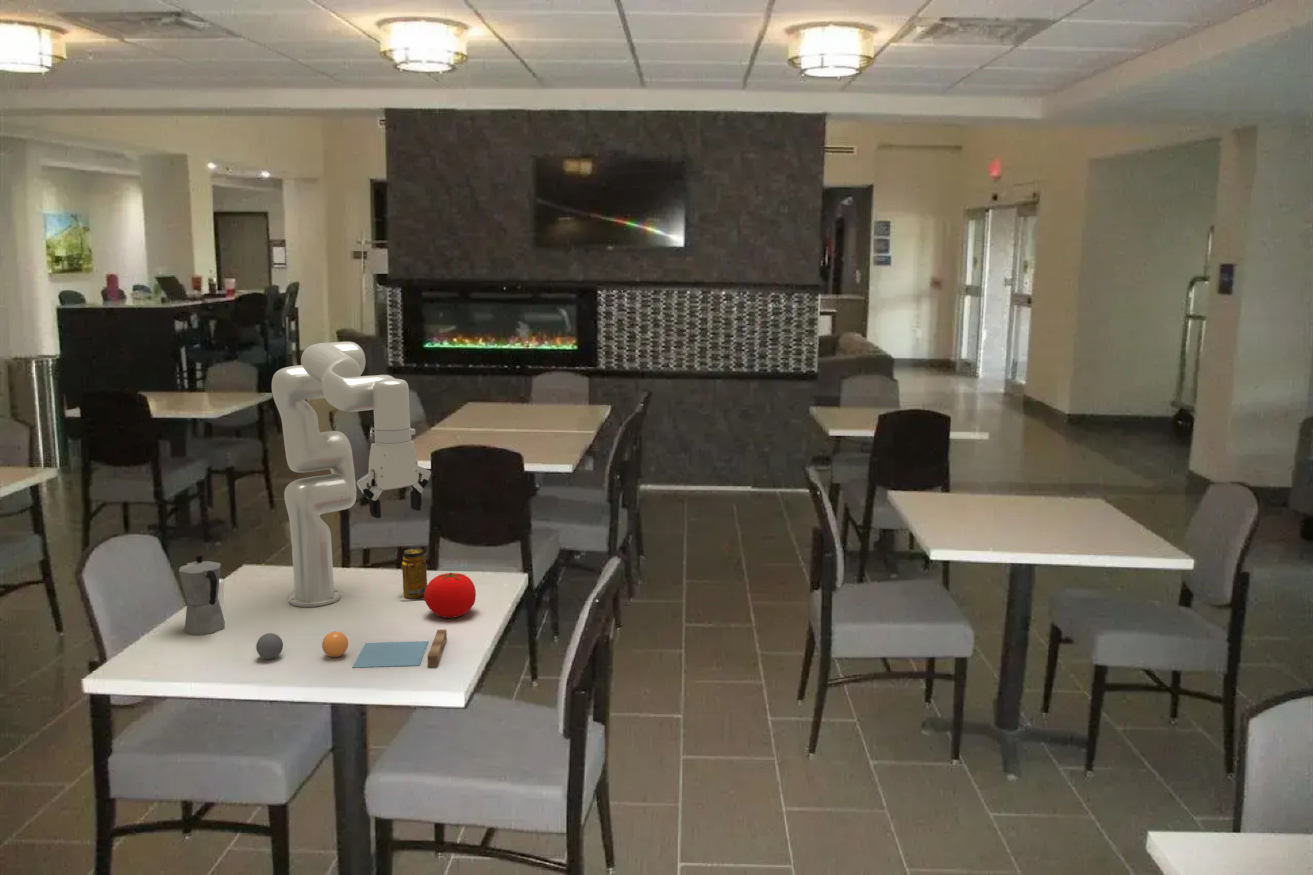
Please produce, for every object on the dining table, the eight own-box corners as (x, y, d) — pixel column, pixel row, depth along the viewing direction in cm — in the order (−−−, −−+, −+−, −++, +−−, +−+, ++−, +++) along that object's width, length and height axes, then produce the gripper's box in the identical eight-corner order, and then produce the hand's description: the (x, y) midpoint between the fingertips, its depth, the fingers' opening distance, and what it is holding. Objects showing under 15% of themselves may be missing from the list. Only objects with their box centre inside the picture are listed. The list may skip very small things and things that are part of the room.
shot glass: (196, 615, 253) (194, 587, 251) (196, 606, 259) (194, 579, 258) (226, 611, 255) (224, 583, 254) (225, 602, 262) (223, 576, 260)
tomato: (467, 624, 246) (466, 581, 244) (418, 621, 248) (416, 579, 246) (482, 608, 257) (481, 567, 255) (435, 605, 259) (434, 565, 257)
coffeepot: (174, 626, 245) (168, 552, 242) (214, 616, 251) (209, 545, 248) (198, 643, 234) (191, 567, 231) (239, 633, 240) (234, 558, 237)
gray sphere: (261, 653, 228) (259, 629, 227) (286, 652, 228) (285, 629, 227) (253, 663, 223) (251, 638, 222) (279, 662, 223) (278, 638, 222)
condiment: (403, 592, 270) (401, 548, 268) (436, 590, 271) (434, 546, 269) (401, 601, 263) (398, 556, 260) (435, 599, 264) (433, 554, 262)
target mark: (365, 643, 234) (365, 642, 234) (428, 641, 235) (428, 641, 235) (352, 667, 220) (352, 667, 220) (419, 665, 221) (419, 665, 221)
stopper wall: (437, 640, 236) (437, 629, 236) (446, 639, 236) (446, 629, 236) (428, 667, 220) (427, 656, 220) (437, 667, 220) (437, 656, 220)
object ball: (326, 651, 229) (324, 628, 228) (351, 651, 229) (350, 627, 228) (320, 661, 224) (318, 637, 223) (346, 660, 224) (344, 636, 223)
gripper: (419, 429, 232) (422, 504, 235) (347, 438, 221) (351, 516, 223) (437, 433, 227) (439, 509, 230) (364, 443, 215) (368, 523, 218)
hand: (396, 513), depth 227 cm, fingers open, 9 cm apart
